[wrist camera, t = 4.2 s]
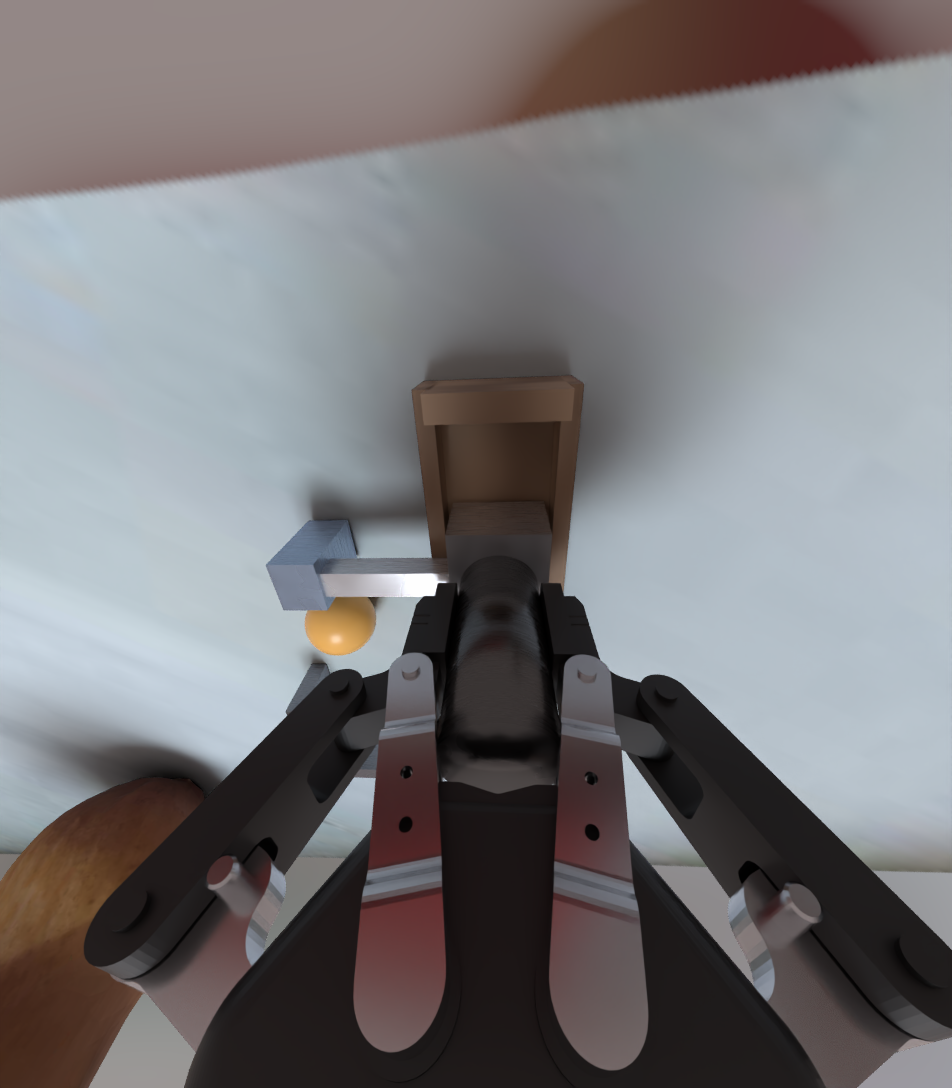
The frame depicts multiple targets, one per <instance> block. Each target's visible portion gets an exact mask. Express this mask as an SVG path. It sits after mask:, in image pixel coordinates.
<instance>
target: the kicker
mask: <svg viewBox="0 0 952 1088" xmlns="http://www.w3.org/2000/svg"><path fill="white" fill-rule="evenodd" d="M445 541H446V551H447V558H357V556H356V552H355V548H354V543H353V539H352V535H351V531H350V527H349V523H348V520H314V521H308V522H307V523H306V524H305V525H304V526H303V527H302V528H301V529H300V530H299V531H298V532H297V533H296V534H295V535H294V536H293V538H292V539H291V540H290V541H289V542H288V543H287V544H286V545H285V546H284V547H283V548H282V549H281V550H280V551H279V552H278V553H277V554H276V555H275V556H274V557H273V558H272V559H271V560H270V561H269V562H268V563H267V564H266V567H267V570H268V572H269V575H270V577H271V580H272V582H273V585H274V587H275V590H276V592H277V595H278V597H279V600H280V602H281V605H282V607H283V610H328V609H329V607H330V606H331V604H332V602H333V601H334V599H335V597H424V596H435V592H436V588H437V584H438V583H457V587H458V600H457V607H456V613H455V620H454V627H453V634H452V640H451V647H450V654H449V661H448V668H447V674H446V681H445V688H444V694H443V701H442V708H441V715H440V722H439V728H438V747H439V753H440V759H441V766H442V772H443V778H444V779H445V780H447V781H449V782H462V783H465V784H468V785H471V786H474V787H477V788H480V789H483V790H486V791H489V792H493V793H496V794H500V793H504V792H508V791H512V790H516V789H520V788H524V787H528V786H532V785H536V784H537V785H553V784H554V780H555V773H556V765H557V758H558V750H559V734H560V722H559V716H558V709H557V703H556V696H555V690H554V683H553V677H552V671H551V664H550V658H549V652H548V645H547V639H546V632H545V626H544V619H543V613H542V606H541V600H540V586H541V583H549V570H550V557H551V543H552V532H551V528H550V524H549V520H548V516H547V513H546V509H545V505H544V501H523V502H463V503H453V506H452V510H451V514H450V518H449V522H448V526H447V530H446V534H445Z"/></svg>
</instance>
